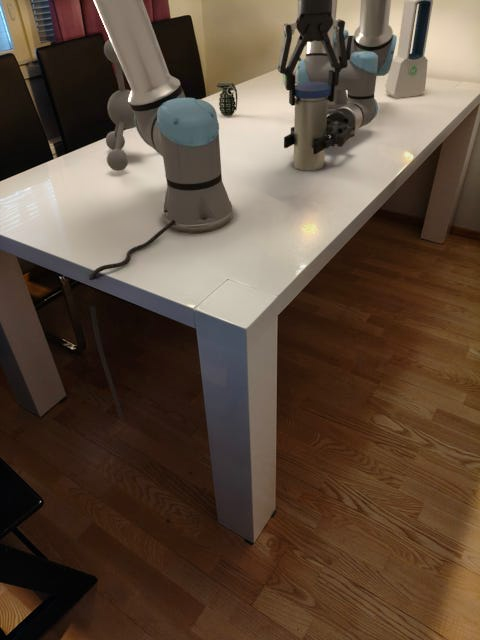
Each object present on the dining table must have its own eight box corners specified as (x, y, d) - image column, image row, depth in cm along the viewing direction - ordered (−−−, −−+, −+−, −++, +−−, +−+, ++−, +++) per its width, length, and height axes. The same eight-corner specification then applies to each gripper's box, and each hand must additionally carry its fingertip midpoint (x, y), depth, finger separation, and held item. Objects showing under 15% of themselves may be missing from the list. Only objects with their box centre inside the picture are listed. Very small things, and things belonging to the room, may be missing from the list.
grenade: (217, 117, 168) (214, 86, 162) (221, 112, 172) (219, 82, 166) (235, 117, 166) (233, 86, 160) (239, 113, 171) (238, 82, 165)
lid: (333, 89, 120) (333, 82, 119) (326, 99, 114) (327, 91, 113) (297, 88, 123) (297, 81, 122) (288, 98, 116) (288, 90, 115)
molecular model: (191, 162, 134) (177, 38, 116) (111, 177, 129) (83, 48, 110) (169, 138, 152) (153, 27, 134) (98, 150, 146) (72, 36, 128)
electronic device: (393, 98, 176) (407, -1, 157) (383, 94, 181) (395, -2, 163) (424, 94, 178) (441, -4, 160) (413, 90, 184) (428, -5, 165)
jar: (330, 165, 128) (335, 91, 117) (307, 173, 125) (310, 97, 114) (309, 157, 134) (312, 86, 122) (287, 164, 130) (288, 91, 119)
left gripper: (270, -3, 102) (271, 110, 115) (369, -11, 104) (359, 101, 118) (262, -6, 108) (264, 102, 121) (357, -13, 110) (348, 94, 124)
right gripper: (376, 141, 133) (335, 167, 119) (310, 130, 144) (266, 153, 130) (379, 112, 129) (338, 136, 115) (311, 103, 139) (265, 124, 125)
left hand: (311, 102), depth 120 cm, fingers closed on lid, 9 cm apart
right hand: (299, 145), depth 122 cm, fingers closed on jar, 8 cm apart
